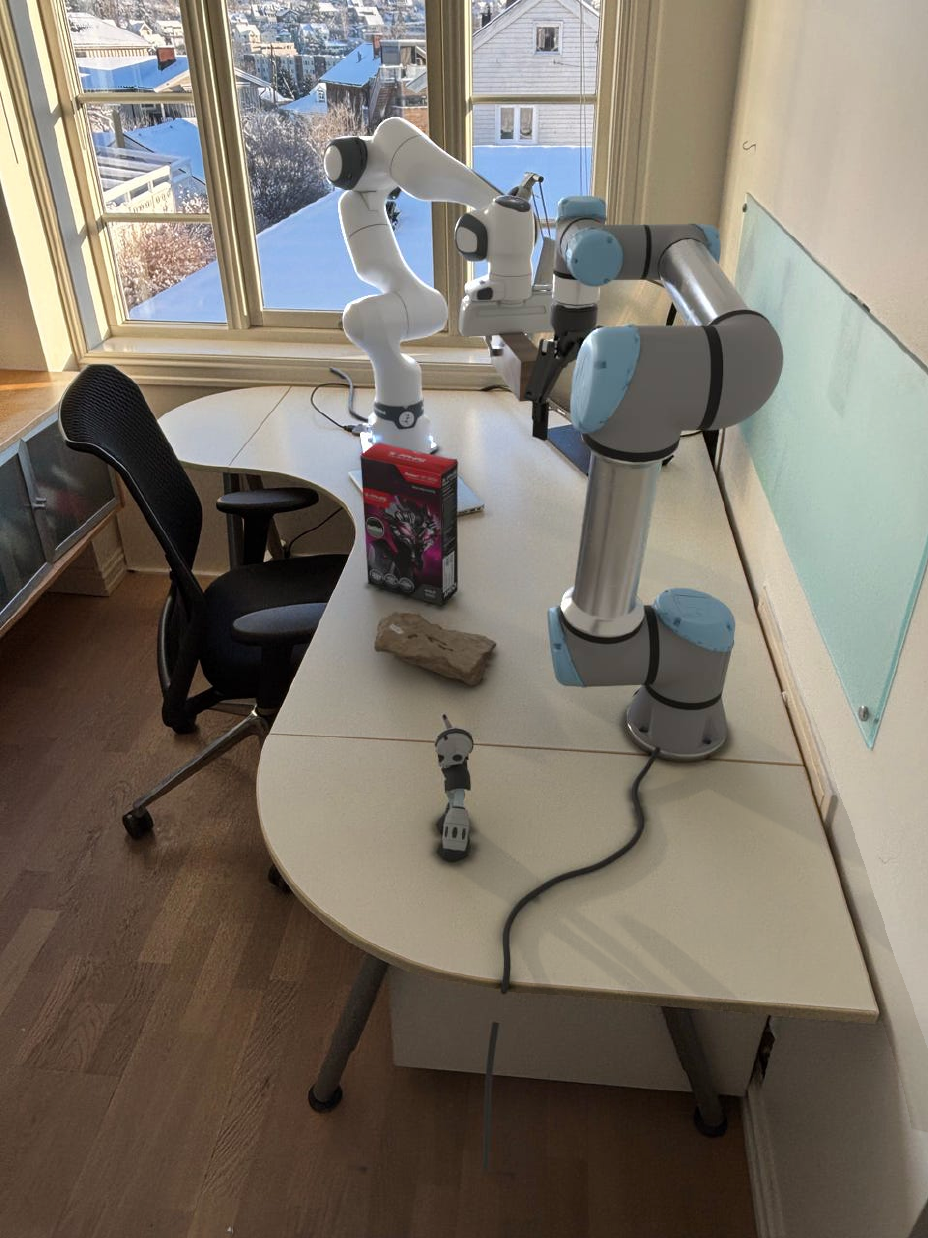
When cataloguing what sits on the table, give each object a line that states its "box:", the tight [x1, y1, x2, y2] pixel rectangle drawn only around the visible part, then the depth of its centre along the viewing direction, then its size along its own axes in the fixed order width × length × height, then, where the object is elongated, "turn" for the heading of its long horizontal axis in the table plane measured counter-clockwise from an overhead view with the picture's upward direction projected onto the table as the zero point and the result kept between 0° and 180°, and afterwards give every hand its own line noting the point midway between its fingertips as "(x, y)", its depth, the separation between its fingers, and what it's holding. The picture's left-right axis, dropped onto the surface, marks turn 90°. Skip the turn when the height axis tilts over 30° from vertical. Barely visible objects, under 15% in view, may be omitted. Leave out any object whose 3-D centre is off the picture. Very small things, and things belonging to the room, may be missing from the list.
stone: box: [373, 611, 497, 686], centre depth 156 cm, size 21×15×6 cm
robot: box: [433, 713, 475, 862], centre depth 119 cm, size 20×5×20 cm, turn 3°
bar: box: [490, 332, 542, 403], centre depth 184 cm, size 24×5×8 cm, turn 12°
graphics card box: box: [359, 442, 459, 606], centre depth 169 cm, size 17×7×27 cm, turn 62°
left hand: (507, 355), depth 191 cm, fingers closed on bar, 5 cm apart
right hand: (565, 427), depth 159 cm, fingers open, 13 cm apart
